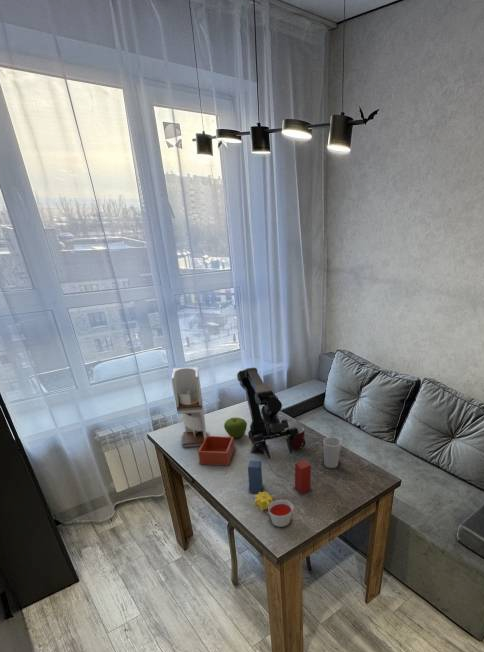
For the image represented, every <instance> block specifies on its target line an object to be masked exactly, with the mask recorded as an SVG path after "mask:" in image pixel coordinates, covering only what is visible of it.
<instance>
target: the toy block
mask: <svg viewBox="0 0 484 652" xmlns="http://www.w3.org/2000/svg"><path fill="white" fill-rule="evenodd" d="M254 497H255V499H254V505H255V506H257V507H258V508H259V509H260V510H261V511H264V510H268V507H269V505H270V503H272V502H273V498H274V497H275V495H274V494H271V495H270V494H269V493H268V491H267V490H265V491H261V492H258V493H255V495H254Z"/></svg>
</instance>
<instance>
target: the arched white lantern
mask: <svg viewBox="0 0 484 652" xmlns="http://www.w3.org/2000/svg"><path fill="white" fill-rule="evenodd" d="M171 382H172V389H173V395H174V400H175V406H176V412H177V415H181V421H182V424H183V425H184V428H185V429H184V430H185V431H182V432H183V435H182V448H191V447H201V445H202V443H203V441H204V440H205V438H206V436H208V435H207V427H206V419H205V411H204V403H203V395H202V388H201V380H200V373H199V367H198V366H192V367H173V368H172V374H171Z"/></svg>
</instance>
